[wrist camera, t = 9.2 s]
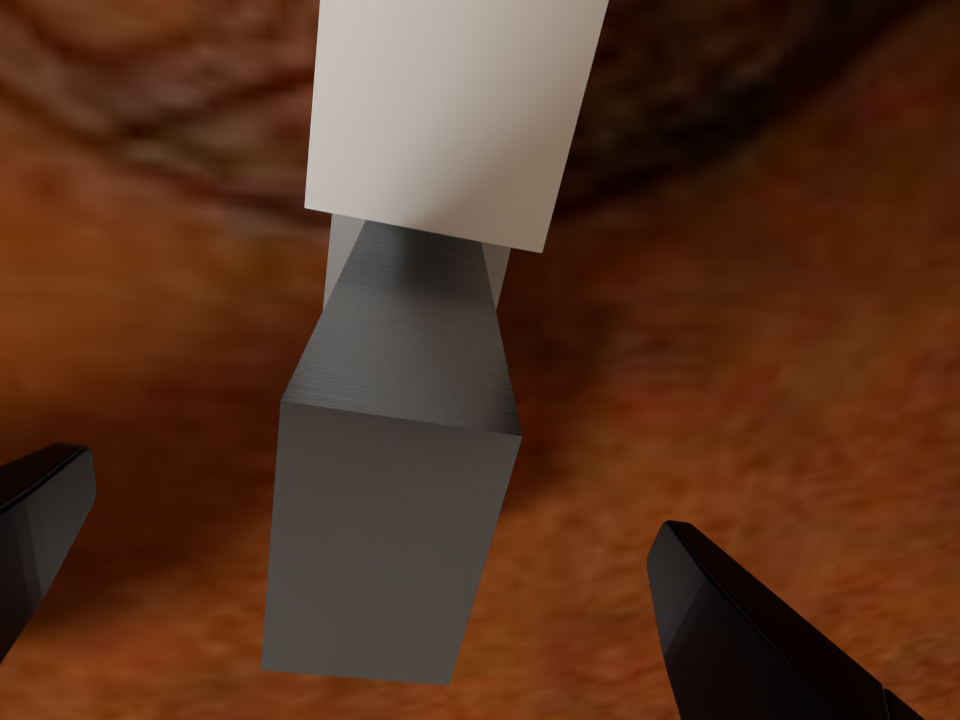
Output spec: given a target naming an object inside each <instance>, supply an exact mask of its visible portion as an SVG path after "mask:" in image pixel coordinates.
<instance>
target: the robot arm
mask: <svg viewBox="0 0 960 720" xmlns="http://www.w3.org/2000/svg"><path fill="white" fill-rule="evenodd" d="M95 497H96V480H95V470H94V461H93V454H92V451H91V449H90V448H89V447H88V446H86V445H81V444H73V443H65V442H58V443H55V444H52V445H49V446H47V447H45V448H42V449H40V450H38V451H35V452H33V453H30V454H28V455H26V456H23V457H21V458H19V459H16V460H14V461H11V462H9V463H7V464H4V465H2V466H0V664H1V662H2V661H3V659H4V658H5V656H6V655H7V653H8V652H9V650H10V649H11V647H12V646H13V644H14V643H15V641H16V640H17V638H18V637H19V635H20V634H21V632H22V631H23V629H24V628H25V626H26V625H27V623H28V622H29V620H30V619H31V617H32V616H33V614H34V613H35V611H36V610H37V608H38V606H39V605H40V603H41V602H42V600H43V598H44V597H45V595H46V593H47V591H48V590H49V588H50V586H51V584H52V582H53V580H54V578H55V577H56V575H57V573H58V571H59V569H60V567H61V565H62V563H63V561H64V559H65V557H66V556H67V554H68V552H69V550H70V548H71V546H72V544H73V542H74V540H75V538H76V537H77V535H78V533H79V531H80V529H81V527H82V525H83V523H84V521H85V519H86V517H87V516H88V514H89V512H90V510H91V508H92V506H93V503H94V501H95ZM647 572H648V578H649V583H650V589H651V594H652V600H653V605H654V611H655V616H656V622H657V627H658V633H659V639H660V644H661V649H662V653H663V658H664V662H665V665H666V669H667V673H668V676H669V680H670V683H671V687H672V690H673V694H674V697H675V700H676V704H677V707H678V711H679V714H680V718H681V720H925V719H923V718H922V717H921V716H920V715H919V714H917V713H916V712H915V711H914V710H912V709H911V708H910V707H909V706H908V705H907V704H905V703H904V702H903V701H902V700H901V699H899V698H898V697H897V696H896V695H895V694H894V693H892V692H891V691H890V690H889V689H884V688H883V685H882V684H881V683H880V682H879V681H878V680H877V679H876V678H874V677H873V676H872V675H871V674H870V673H868V672H867V671H866V670H865V669H864V668H862V667H861V666H860V665H859V664H858V663H856V662H855V661H854V660H853V659H852V658H851V657H849V656H848V655H847V654H846V653H845V652H843V651H842V650H841V649H840V648H839V647H837V646H836V645H835V644H834V643H833V642H831V641H830V640H829V639H828V638H827V637H825V636H824V635H823V634H822V633H821V632H820V631H818V630H817V629H816V628H815V627H814V626H812V625H811V624H810V623H809V622H808V621H806V620H805V619H804V618H803V617H802V616H800V615H799V614H798V613H797V612H796V611H794V610H793V609H792V608H791V607H790V606H789V605H787V604H786V603H785V602H784V601H783V600H781V599H780V598H779V597H778V596H777V595H775V594H774V593H773V592H772V591H771V590H769V589H768V588H767V587H766V586H765V585H764V584H762V583H761V582H760V581H759V580H758V579H756V578H755V577H754V576H753V575H752V574H750V573H749V572H748V571H747V570H746V569H744V568H743V567H742V566H741V565H740V564H738V563H737V562H736V561H735V560H734V559H733V558H731V557H730V556H729V555H728V554H727V553H725V552H724V551H723V550H722V549H721V548H719V547H718V546H717V545H716V544H715V543H713V542H712V541H711V540H710V539H709V538H707V537H706V536H705V535H704V534H703V533H702V532H700V531H699V530H698V529H697V528H696V527H694V526H693V525H692V524H690V523H687V522H680V521H673V520H668V521H666V522H664V523H663V524H662V526H661V528H660V530H659V532H658V534H657V537H656V539H655V541H654V543H653V545H652V548H651V550H650V552H649V555H648V558H647Z"/></svg>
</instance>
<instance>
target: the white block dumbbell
mask: <svg viewBox="0 0 960 720" xmlns="http://www.w3.org/2000/svg"><path fill="white" fill-rule="evenodd" d="M608 1H609V0H320V11H319V24H318V37H317V50H316V63H315V77H314V90H313V103H312V116H311V129H310V142H309V155H308V169H307V182H306V195H305V208H308V209H313V210H318V211H323V212H329V213H332V221H331V232H330V242H329V252H328V262H327V273H326V283H325V293H324V304H323V310H324V308H325V306H326V304H327V301H328V299H329V297H330V295H331V293H332V291H333V289H334V287H335V284H336V282H337V280H338V278H339V276H340V274H341V272H342V270H343V268H344V265H345V263H346V261H347V259H348V257H349V255H350V253H351V251H352V248H353V246H354V244H355V242H356V240H357V238H358V236H359V234H360V231H361V229H362V227H363V225H364V223H365V221H366V220H371V221H376V222H381V223H386V224H391V225H397V226H402V227H407V228H412V229H418V230H423V231H428V232H433V233H439V234H444V235H449V236H454V237H459V238H465V239H470V240H475V241H480V242H481V244H482V249H483V254H484V258H485V263H486V268H487V272H488V277H489V282H490V286H491V291H492V296H493V301H494V305H495V310H496V309H497V305H498V301H499V297H500V292H501V288H502V284H503V280H504V276H505V272H506V267H507V263H508V259H509V255H510V251H511V247H512V248H517V249H522V250H527V251H533V252H538V253H542V252H543V248H544V244H545V240H546V236H547V233H548V229H549V225H550V221H551V217H552V214H553V210H554V206H555V202H556V199H557V195H558V191H559V187H560V183H561V180H562V176H563V172H564V168H565V164H566V161H567V157H568V153H569V149H570V145H571V142H572V138H573V134H574V130H575V126H576V123H577V119H578V115H579V111H580V108H581V104H582V100H583V96H584V92H585V89H586V85H587V81H588V77H589V73H590V70H591V66H592V62H593V58H594V54H595V51H596V47H597V43H598V39H599V36H600V32H601V28H602V24H603V20H604V17H605V13H606V9H607V5H608Z"/></svg>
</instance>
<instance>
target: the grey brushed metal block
mask: <svg viewBox="0 0 960 720" xmlns="http://www.w3.org/2000/svg"><path fill="white" fill-rule="evenodd" d="M521 439H522V432H521V427H520V423H519V418H518V413H517V409H516V404H515V399H514V395H513V390H512V385H511V380H510V376H509V371H508V366H507V362H506V357H505V352H504V348H503V343H502V338H501V333H500V329H499V324H498V319H497V315H496V310H495V305H494V301H493V296H492V291H491V286H490V282H489V277H488V272H487V268H486V263H485V258H484V254H483V249H482V244H481V242H480V241H475V240H470V239H465V238H459V237H454V236H449V235H444V234H439V233H433V232H428V231H423V230H418V229H412V228H407V227H402V226H397V225H391V224H386V223H381V222H376V221H371V220H366V221H365V223H364V225H363V227H362V229H361V231H360V234H359V236H358V238H357V240H356V242H355V244H354V246H353V248H352V251H351V253H350V255H349V257H348V259H347V261H346V263H345V265H344V268H343V270H342V272H341V274H340V276H339V278H338V280H337V282H336V284H335V287H334V289H333V291H332V293H331V295H330V297H329V299H328V301H327V304H326V306H325V308H324V310H323V312H322V314H321V316H320V318H319V320H318V323H317V325H316V327H315V329H314V331H313V333H312V335H311V337H310V340H309V342H308V344H307V346H306V348H305V350H304V352H303V354H302V356H301V359H300V361H299V363H298V365H297V367H296V369H295V371H294V373H293V376H292V378H291V380H290V382H289V384H288V386H287V388H286V390H285V392H284V395H283V397H282V399H281V402H280V416H279V429H278V443H277V457H276V470H275V484H274V498H273V511H272V525H271V538H270V552H269V566H268V579H267V593H266V606H265V620H264V634H263V647H262V661H261V670H267V671H279V672H292V673H304V674H316V675H328V676H341V677H353V678H365V679H377V680H389V681H402V682H414V683H426V684H438V685H449V683H450V680H451V677H452V673H453V670H454V666H455V663H456V660H457V656H458V653H459V650H460V646H461V643H462V639H463V636H464V633H465V629H466V626H467V622H468V619H469V616H470V612H471V609H472V605H473V602H474V599H475V595H476V592H477V589H478V585H479V582H480V578H481V575H482V572H483V568H484V565H485V561H486V558H487V555H488V551H489V548H490V544H491V541H492V538H493V534H494V531H495V528H496V524H497V521H498V517H499V514H500V511H501V507H502V504H503V500H504V497H505V494H506V490H507V487H508V484H509V480H510V477H511V473H512V470H513V467H514V463H515V460H516V456H517V453H518V450H519V446H520V443H521Z"/></svg>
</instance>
